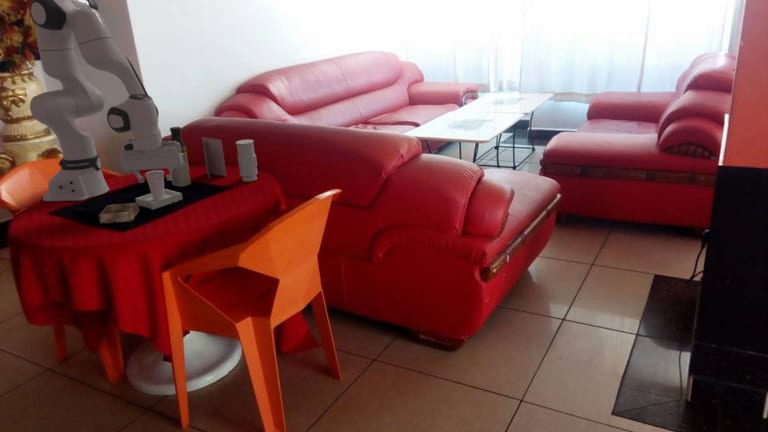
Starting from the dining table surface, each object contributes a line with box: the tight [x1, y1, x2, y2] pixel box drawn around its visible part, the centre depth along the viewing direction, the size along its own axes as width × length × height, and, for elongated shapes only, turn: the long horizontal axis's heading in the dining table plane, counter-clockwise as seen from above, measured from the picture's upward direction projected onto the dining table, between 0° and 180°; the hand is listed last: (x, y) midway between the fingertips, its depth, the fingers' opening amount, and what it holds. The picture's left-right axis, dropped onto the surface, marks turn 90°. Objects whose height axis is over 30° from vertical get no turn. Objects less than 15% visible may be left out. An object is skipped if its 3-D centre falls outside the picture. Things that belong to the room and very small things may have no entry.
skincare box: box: [171, 153, 192, 188], centre depth 229 cm, size 6×4×12 cm
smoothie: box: [144, 169, 165, 201], centre depth 209 cm, size 6×6×14 cm
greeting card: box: [201, 136, 227, 179], centre depth 238 cm, size 11×7×15 cm, turn 21°
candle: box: [235, 139, 259, 182], centre depth 231 cm, size 7×7×15 cm
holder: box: [98, 202, 140, 225], centre depth 198 cm, size 10×10×3 cm
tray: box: [135, 188, 184, 210], centre depth 212 cm, size 12×10×2 cm
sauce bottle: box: [169, 126, 190, 171], centre depth 239 cm, size 6×6×20 cm
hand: (155, 181), depth 209 cm, fingers open, 8 cm apart
